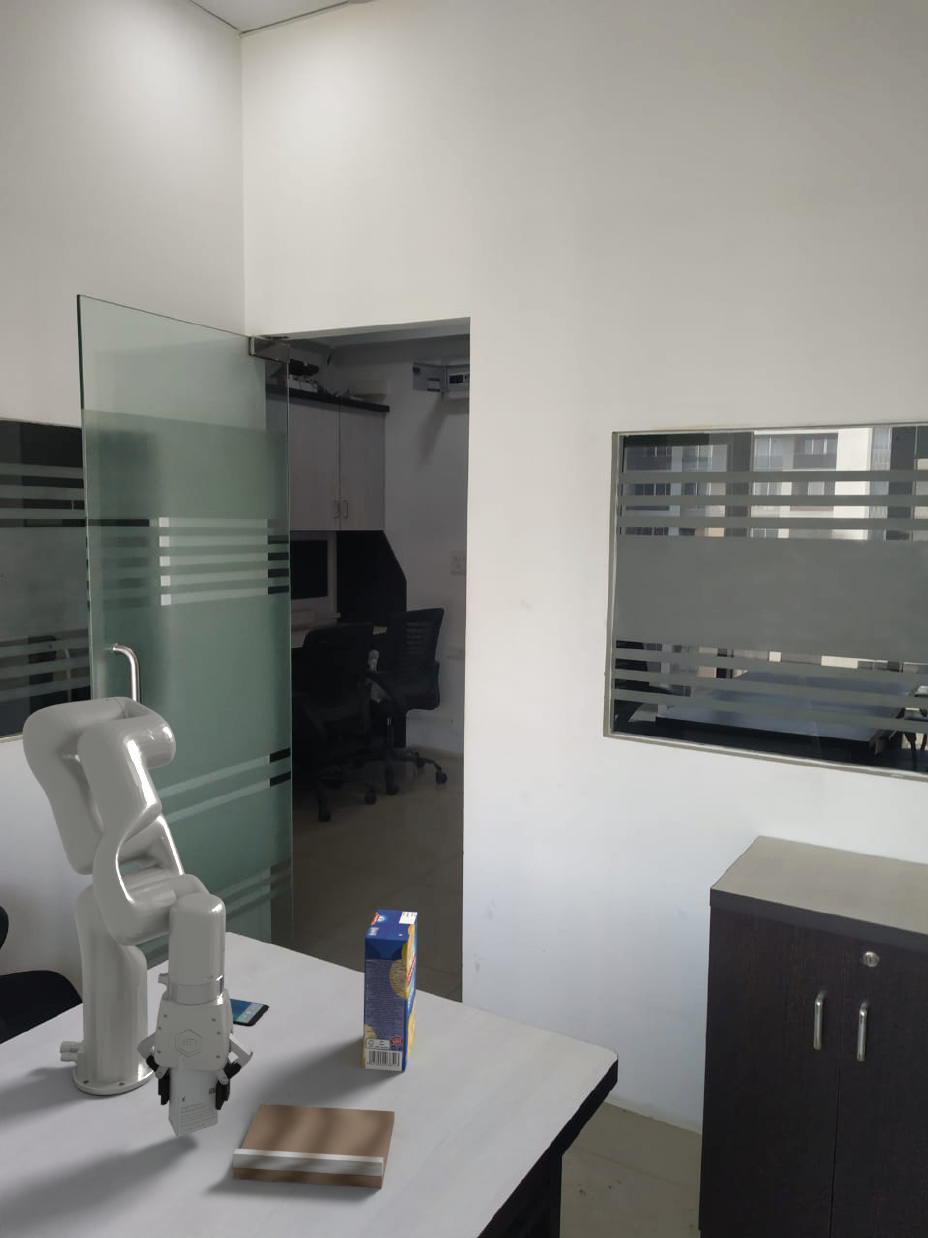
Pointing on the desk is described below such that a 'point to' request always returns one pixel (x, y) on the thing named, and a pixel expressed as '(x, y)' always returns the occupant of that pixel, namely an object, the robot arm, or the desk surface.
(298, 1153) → the shelf board
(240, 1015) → the smartphone
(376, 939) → the beverage box
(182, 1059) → the skincare box
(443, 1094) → the desk surface
